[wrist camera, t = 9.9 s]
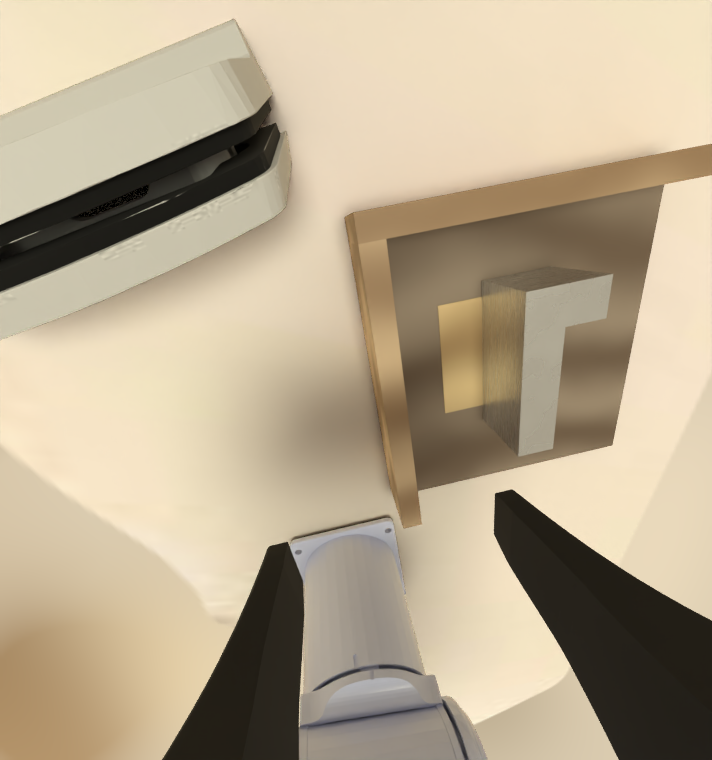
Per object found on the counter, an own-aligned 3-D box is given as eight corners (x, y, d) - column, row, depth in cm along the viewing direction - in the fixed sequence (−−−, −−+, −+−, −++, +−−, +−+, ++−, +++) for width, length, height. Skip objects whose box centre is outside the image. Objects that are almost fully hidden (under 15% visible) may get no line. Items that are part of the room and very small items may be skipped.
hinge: (245, 19, 13) (240, -51, 6) (293, 155, 16) (327, 215, 9) (-129, 175, 13) (-558, 285, 6) (-8, 276, 17) (-197, 423, 10)
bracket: (481, 280, 18) (526, 292, 14) (551, 266, 18) (613, 273, 14) (482, 419, 21) (518, 456, 18) (540, 406, 22) (586, 440, 18)
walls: (603, 439, 25) (648, 470, 21) (390, 488, 24) (403, 528, 21) (654, 157, 17) (736, 139, 14) (344, 217, 16) (353, 212, 13)
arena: (603, 439, 25) (612, 445, 24) (406, 485, 24) (409, 493, 23) (650, 183, 18) (665, 181, 17) (371, 238, 17) (374, 238, 16)
